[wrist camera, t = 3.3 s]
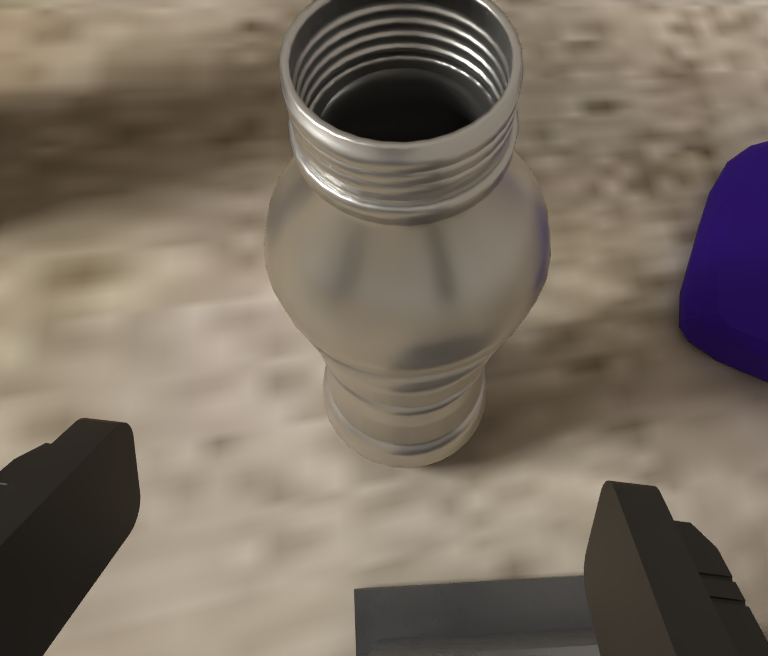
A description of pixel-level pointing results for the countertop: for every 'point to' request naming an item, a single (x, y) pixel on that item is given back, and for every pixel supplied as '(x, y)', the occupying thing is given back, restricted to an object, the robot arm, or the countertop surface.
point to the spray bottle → (731, 268)
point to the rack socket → (476, 619)
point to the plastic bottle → (405, 215)
